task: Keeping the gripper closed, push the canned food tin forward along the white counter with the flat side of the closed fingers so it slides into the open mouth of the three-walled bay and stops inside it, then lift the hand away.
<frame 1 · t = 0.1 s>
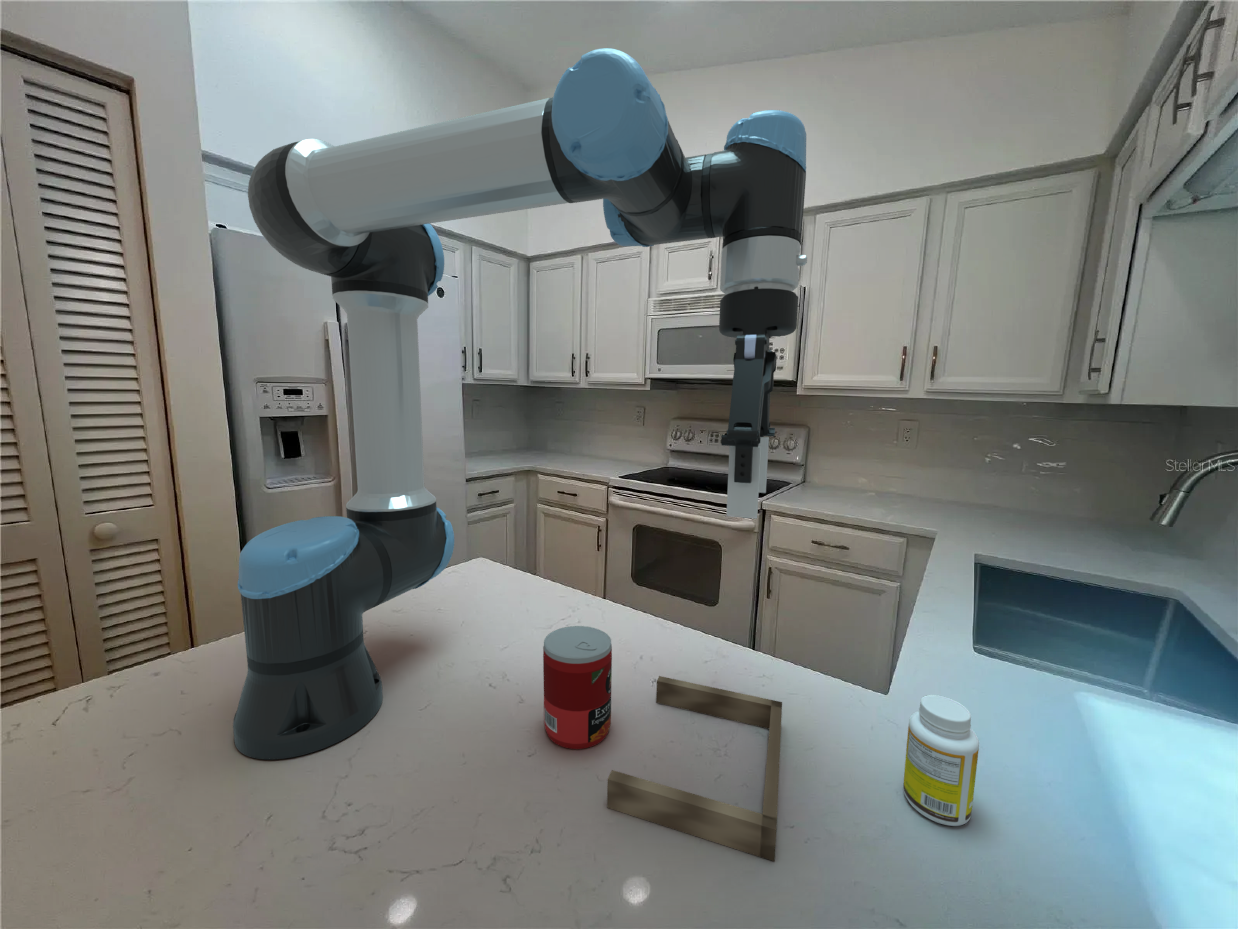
hand: (748, 503, 50), 28 cm above the countertop, tool pointing down, fingers open, 13 cm apart
bay: (713, 764, 51), on the countertop
canned food: (577, 729, 57), on the countertop
supplement bottle: (935, 806, 46), on the countertop
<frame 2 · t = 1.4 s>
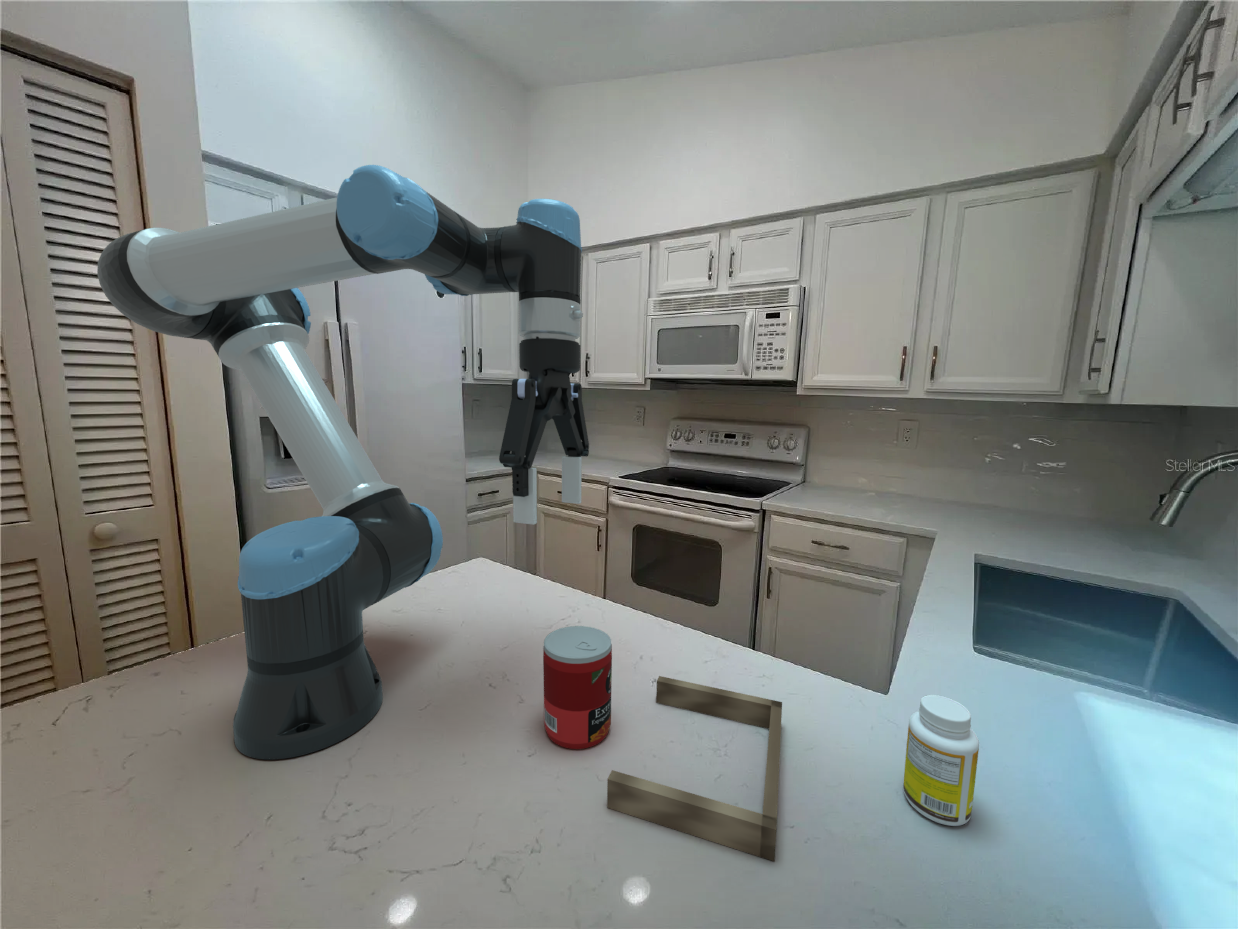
hand: (550, 511, 62), 24 cm above the countertop, tool pointing down, fingers open, 12 cm apart
nothing on the countertop moved.
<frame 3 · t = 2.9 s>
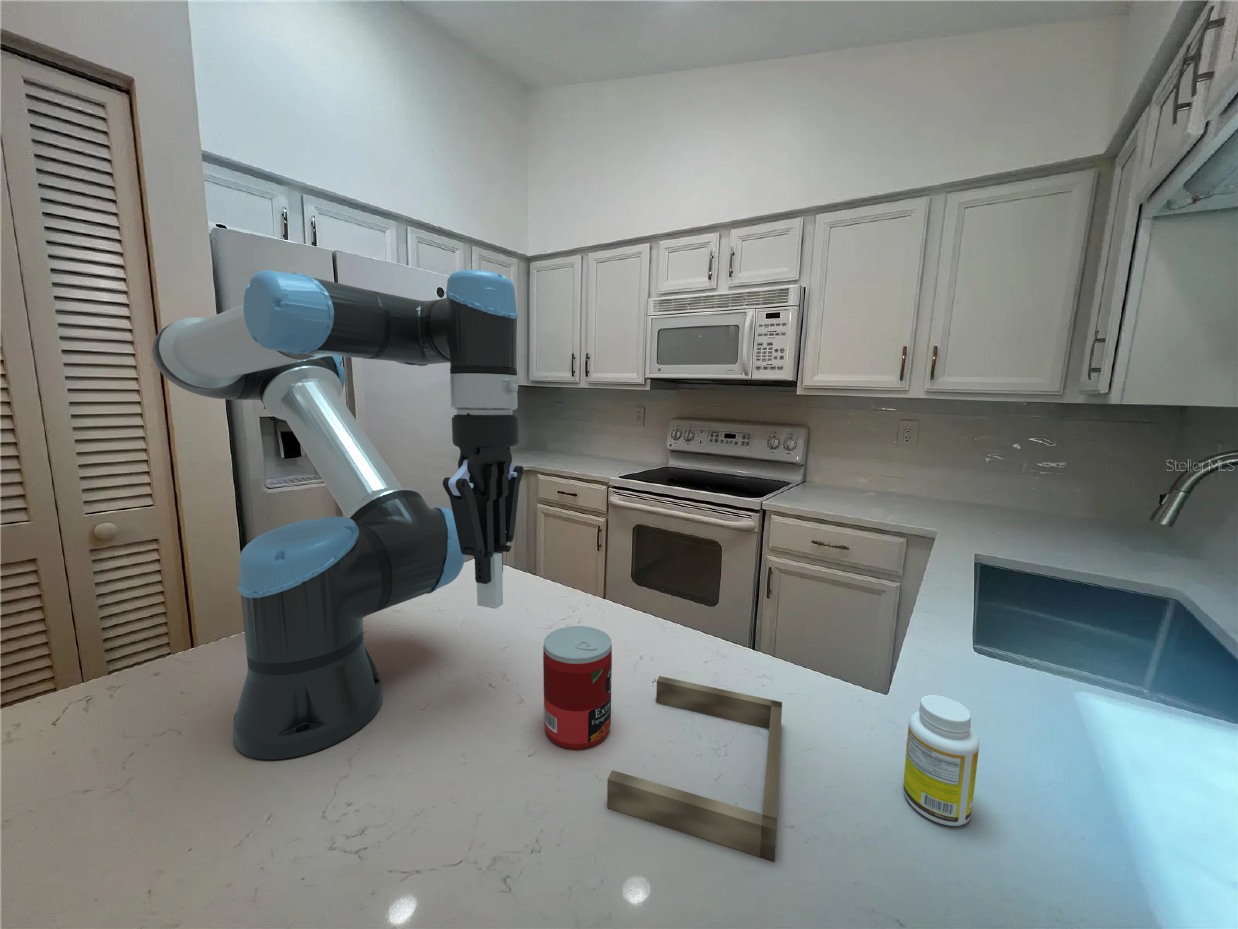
hand: (490, 604, 59), 13 cm above the countertop, tool pointing down, fingers closed
nothing on the countertop moved.
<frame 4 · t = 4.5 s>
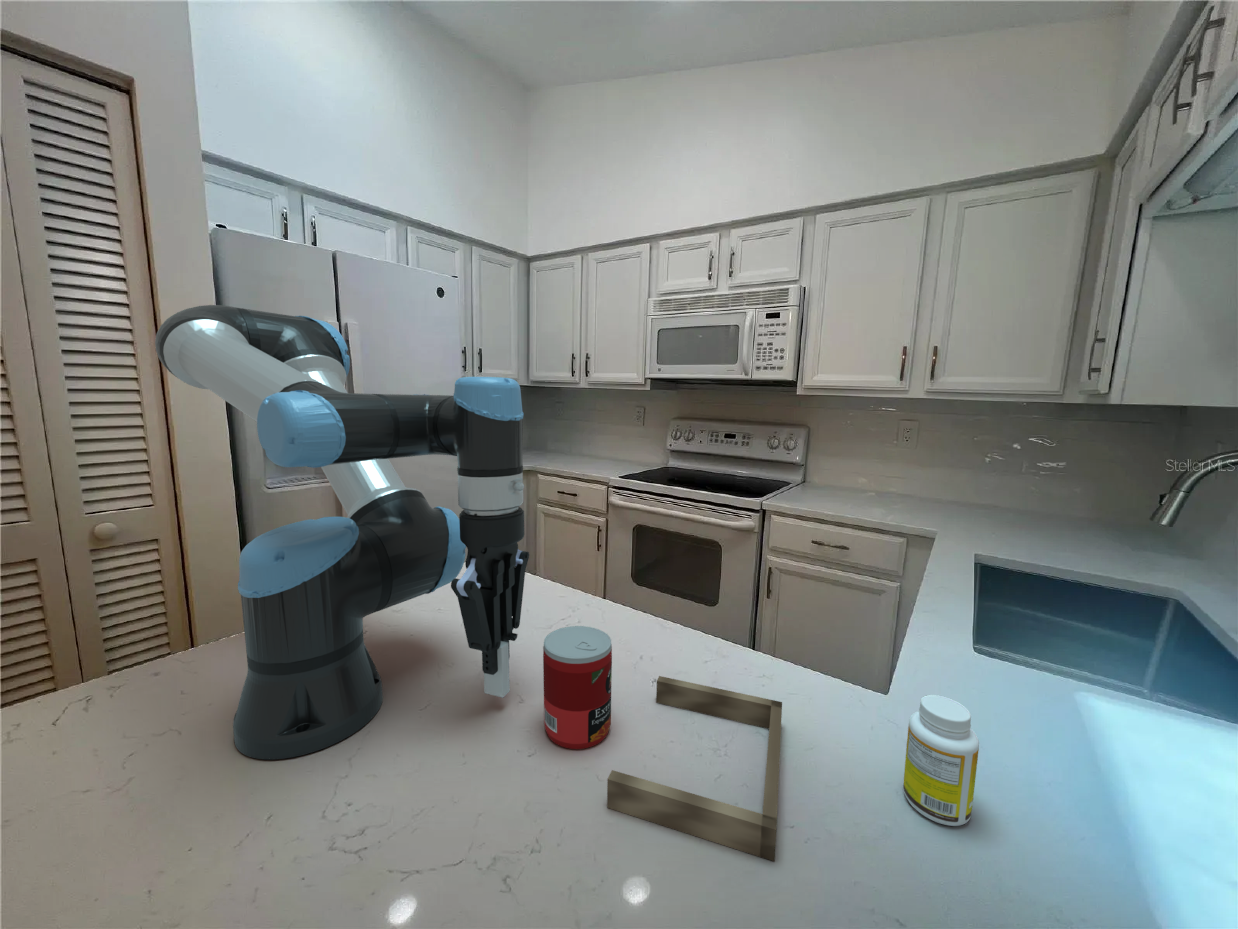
hand: (497, 691, 60), 2 cm above the countertop, tool pointing down, fingers closed
nothing on the countertop moved.
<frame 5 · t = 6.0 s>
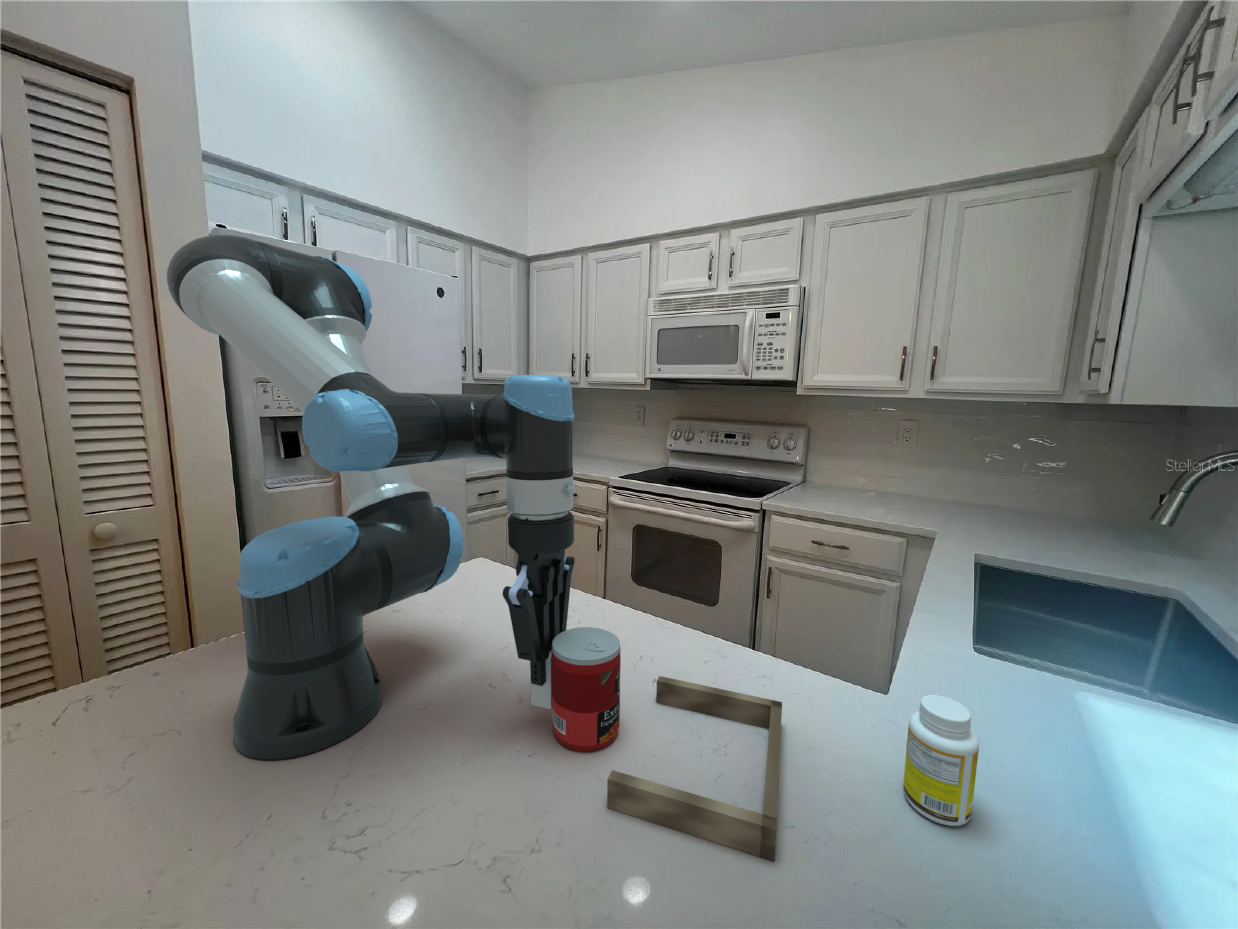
hand: (544, 703, 58), 2 cm above the countertop, tool pointing down, fingers closed
canned food: (585, 731, 56), on the countertop, touching gripper
everything else where it was.
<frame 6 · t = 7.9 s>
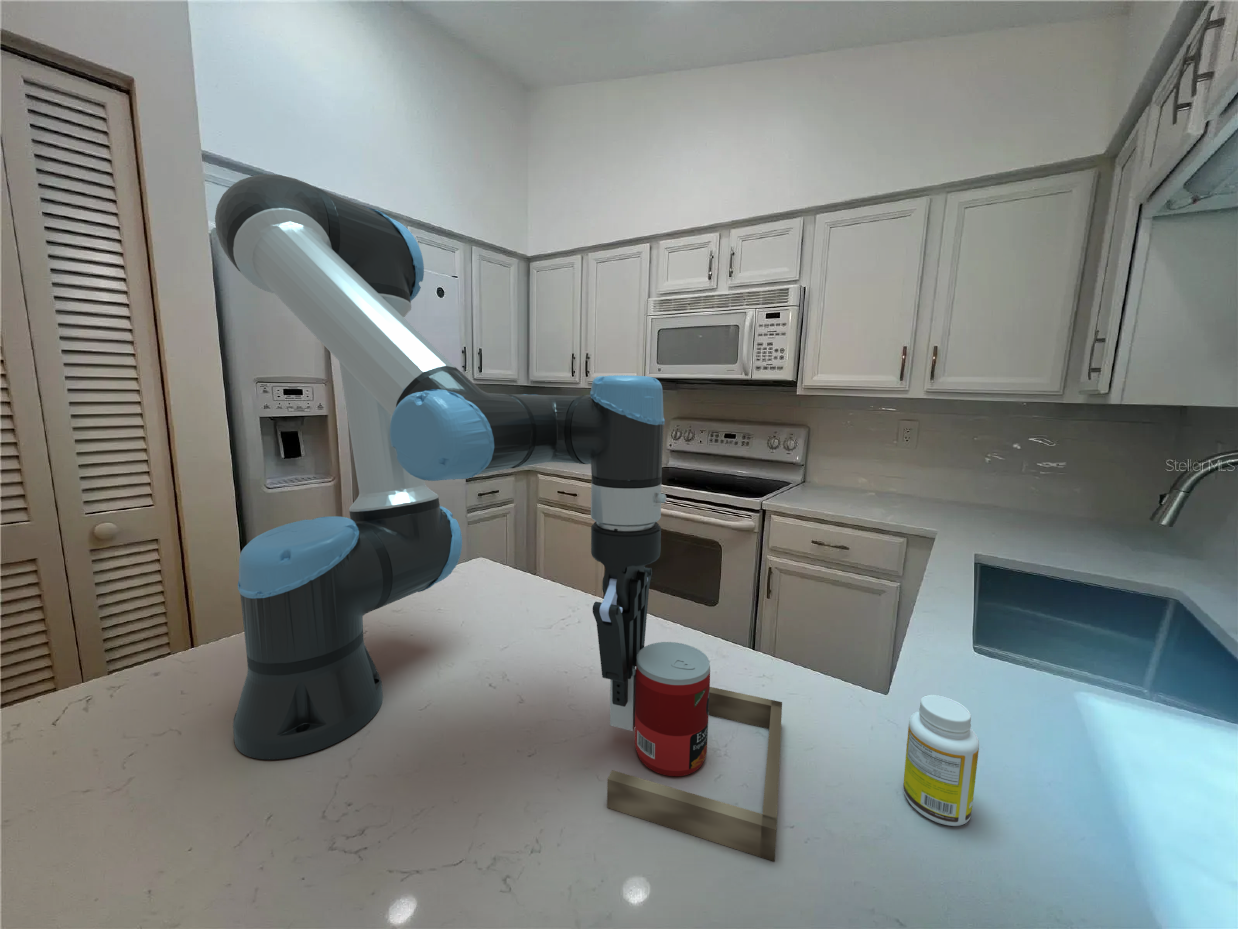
hand: (623, 724, 54), 2 cm above the countertop, tool pointing down, fingers closed
canned food: (670, 753, 53), on the countertop
everything else where it was.
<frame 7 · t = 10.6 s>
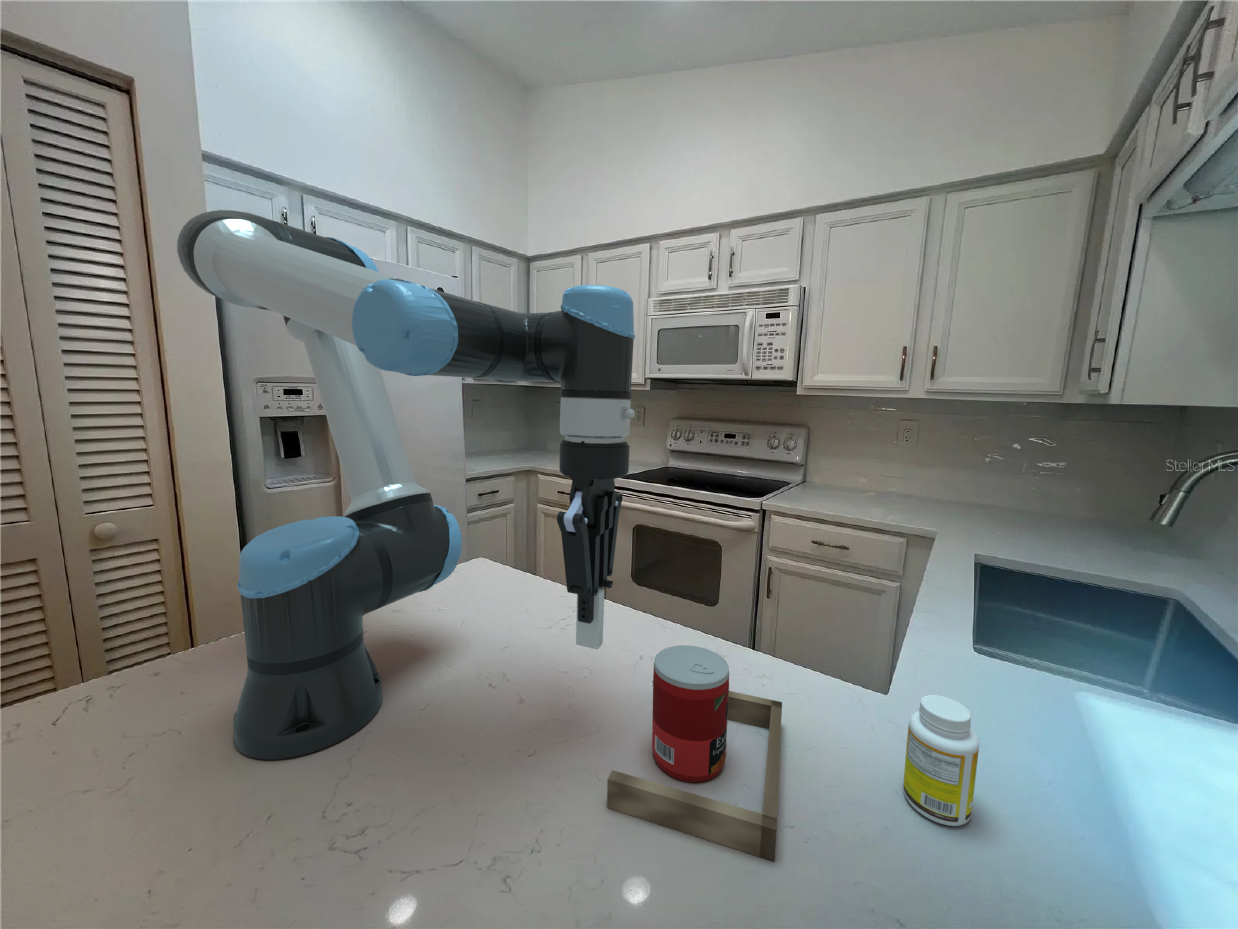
hand: (589, 643, 55), 11 cm above the countertop, tool pointing down, fingers closed
canned food: (688, 758, 52), on the countertop
everything else where it was.
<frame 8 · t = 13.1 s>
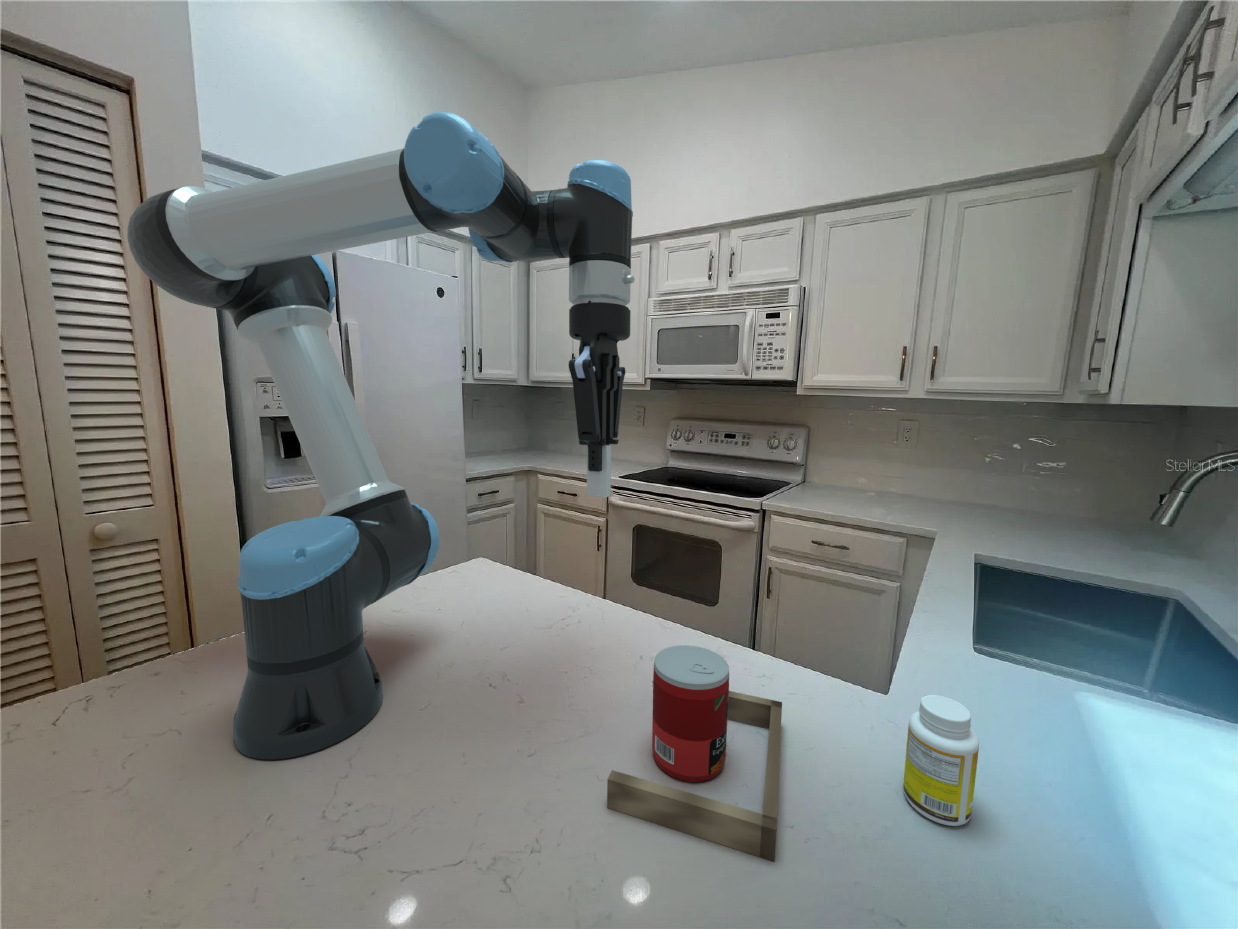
hand: (598, 495, 61), 26 cm above the countertop, tool pointing down, fingers closed
nothing on the countertop moved.
at the end: canned food inside the target area on the bay (1.8 cm from its centre), point 0.0 cm above the bay's base; canned food tilted 0° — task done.
